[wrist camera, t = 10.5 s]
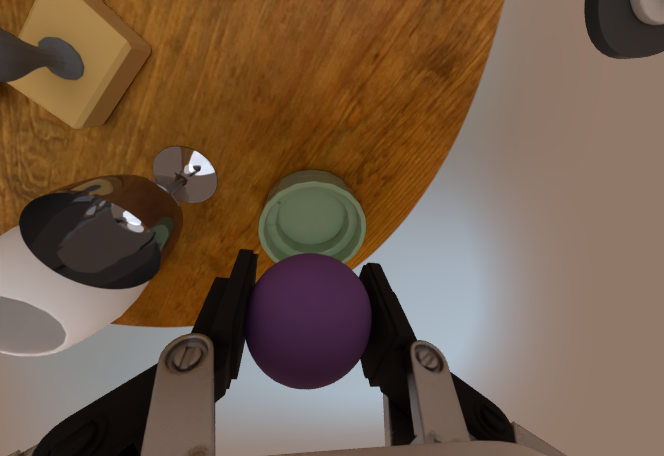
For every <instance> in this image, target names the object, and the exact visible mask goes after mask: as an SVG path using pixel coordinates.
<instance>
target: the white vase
mask: <svg viewBox="0 0 664 456" xmlns="http://www.w3.org/2000/svg"><path fill="white" fill-rule="evenodd" d="M148 283H149V281H148V282H146V283H144V284H142V285H140V286H137V287H133V288H128V289H102V288H96V287H91V286H87V285H84V284H80V283H77V282H75V281H72V280H70V279H67V278H65V277H63V276H61V275H60V274H58V273H56V272H54V271H53V270H51V269H50V268H48V267H47V266H45V265H44V264H43V263H42V262H41V261H40V260H38V259H37V258H36V257H35V256H34V255H33V253H32V252H31V251H30V250H29V249H28V247H27V246H26V244H25V242H24V241H23V238H22V236H21V233H20V227H19V225H18V226H16V227H14V228H12V229H11V230H9V231H7V232H6V233H4V234H3V235H1V236H0V353H4V354H10V355H15V356H44V355H48V354H53V353H57V352H60V351H62V350H64V349H66V348H68V347H70V346H72V345H74V344H76V343H78V342H81V341H82V340H85V339H87V338H88V337H90V336H91V335H93V334H94V333H96V332H98V331H99V330H101V329H102V328H104V327H105V326H107V325H108V324H110V323H111V322H113V321H114V320H116V319H117V318H119V317H120V316H121V315H122V314H123V313H124V312H125V311H126V310H127V309H128V308H129V307H130V306H131V305H132V304H133V303H134V302H135V301H136V300H137V298H138V297H139V296H140V294H141V293H142V291H143V290H144V289H145V287H146V286H147V285H148Z"/></svg>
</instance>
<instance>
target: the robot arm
mask: <svg viewBox="0 0 664 456" xmlns="http://www.w3.org/2000/svg"><path fill="white" fill-rule="evenodd" d="M630 2H631V6H632V9H633V12H634V13H635V15H636V16H637V18H638V19H639V20H641V21H642V22H644V23H646V24H650V25H663V24H664V0H630ZM257 258H258V254H253V250H246V249H240V251H239V253H238V256H237V259H236V262H235V264H234V267H233V270H232V273H231V275H230V278H221V277H216V278H215V280H214V282H213V284H212V286H211V288H210V291H209V293H208V295H207V298H206V300H205V302H204V304H203V307H202V309H201V311H200V314H199V316H198V318H197V320H196V323H195V325H194V327H193V330H192V332H191V333H190V334H186V335H183V336H180V337H178V338H176V339H175V340H173V341H172V342H171V343H169V344H168V345H167V346H166V347H165V349H164V350H163V351H162V353H161V355H160V358H159V361H158V363H157V364H155V365H154V366H152V367H150V368H149V369H147V370H146V371H144V372H142V373H141V374H139V375H138V376H136V377H134V378H132V379H131V380H129V381H127V382H126V383H124V384H122V385H121V386H119V387H118V388H116V389H114V390H112V391H111V392H109V393H107V394H106V395H104V396H102V397H101V398H99V399H98V400H96V401H94V402H93V403H91V404H89V405H88V406H86V407H84V408H83V409H81V410H79V411H78V412H76V413H74V414H73V415H71V416H70V417H68V418H66V419H65V420H64V421H62V422H61V423H59V424H58V425H56V426H55V427H54V428H53V429H52V430H51V431H50V432H49V433H48V434H47V435H46V436H45V437H44V438H43V439H42V440H41V441H40V443H39V444H37V445H35V446H33V447H32V448H30V449H28V450H26V451H25V452H23V453H22V452H21V451H20V450H18V451H16V452H14V453H12V454H10V455H9V456H215V403H216V402H217V401H218V400H219V399H220V398H222V397H223V396H224V395H225V393H226V389H229V387H230V383H231V379H237V376H238V372H239V367H240V363H241V358H242V353H243V348H244V343H245V339H246V338H245V333H244V326H245V318H246V311H247V305H248V301H249V297H250V293H251V291H252V289H253V288H254V286H255V280H256V269H257ZM359 279H360V281H361V282H362V284H363V285H364V287H365V290H366V292H367V294H368V297H369V301H370V305H371V312H372V326H371V333H370V337H369V341H368V344H367V346H366V349H365V351H364V353H363V355H362V356H361V358H360V359H361V364H362V368H363V373H364V376H365V378H368V380H369V384H370V386H371V387H377V386H379V387H380V390H381V392H382V393H383V404H384V427H385V447H373V448H359V449H346V450H334V451H320V452H307V453H294V454H281V455H269V456H566V455H565V454H563V453H562V452H560V451H559V450H557V449H556V448H554V447H552V446H551V445H549V444H548V443H546V442H545V441H543V440H542V439H540V438H538V437H537V436H535V435H534V434H532V433H531V432H529V431H527V430H526V429H524V428H523V427H521V426H520V425H518V424H517V423H515V422H512V423H510V422H509V420H508V419H507V417H506V416H505V414H504V413H503V412H502V411H501V410H500V409H499V408H498V407H497V406H496V405H495V404H494V403H492V402H491V401H490V400H488V399H487V398H486V397H484V396H483V395H482V394H480V393H479V392H477V391H476V390H474V389H473V388H472V387H470V386H469V385H468V384H466V383H465V382H464V381H462V380H461V379H460V378H458V377H457V376H456V375H454V374H453V373H451V372H450V370H449V367H448V364H447V361H446V359H445V357H444V355H443V354H442V353H441V351H440V350H439V349H438V348H437V347H435V346H434V345H433V344H431V343H429V342H426V341H422V340H418V341H417V339H416V337H415V335H414V332H413V330H412V328H411V326H410V324H409V322H408V320H407V317H406V316H405V313H404V311H403V309H402V307H401V305H400V303H399V301H398V298H397V296H396V294H395V293H394V292H393V291H392V289H391V287H390V285H389V283H388V280H387V278H386V276H385V274H384V272H383V270H382V267H381V265H380V264H378V263H367V264H366V265H364V266H363V268H362V270H361V273H360V276H359Z"/></svg>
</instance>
